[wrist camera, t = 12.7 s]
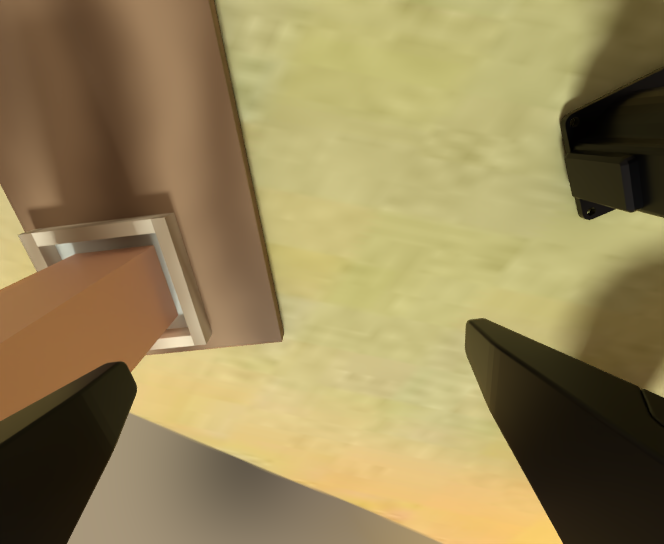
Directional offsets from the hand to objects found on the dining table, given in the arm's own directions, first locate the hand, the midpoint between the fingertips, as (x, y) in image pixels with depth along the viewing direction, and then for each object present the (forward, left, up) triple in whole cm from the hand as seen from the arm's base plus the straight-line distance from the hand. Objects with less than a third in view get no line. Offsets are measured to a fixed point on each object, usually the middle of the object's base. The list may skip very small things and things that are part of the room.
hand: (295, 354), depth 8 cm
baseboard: (+9, -6, -13) cm, 17 cm away
